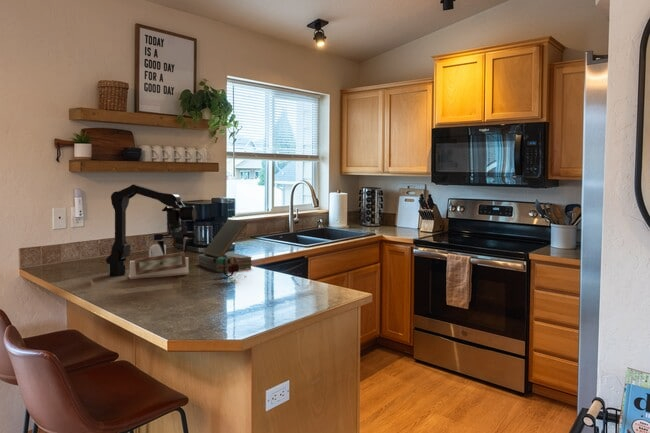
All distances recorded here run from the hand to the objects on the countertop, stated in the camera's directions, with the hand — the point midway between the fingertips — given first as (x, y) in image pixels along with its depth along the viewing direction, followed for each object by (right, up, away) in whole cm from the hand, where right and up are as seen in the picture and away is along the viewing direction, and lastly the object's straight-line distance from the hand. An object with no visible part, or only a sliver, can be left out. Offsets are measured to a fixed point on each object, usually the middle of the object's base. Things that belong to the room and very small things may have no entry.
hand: (174, 254), depth 223 cm
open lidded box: (+18, -10, +29) cm, 35 cm away
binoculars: (+24, -11, +1) cm, 26 cm away
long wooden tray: (-8, -10, +1) cm, 13 cm away
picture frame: (-5, -4, -3) cm, 7 cm away
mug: (-17, -9, +25) cm, 31 cm away
